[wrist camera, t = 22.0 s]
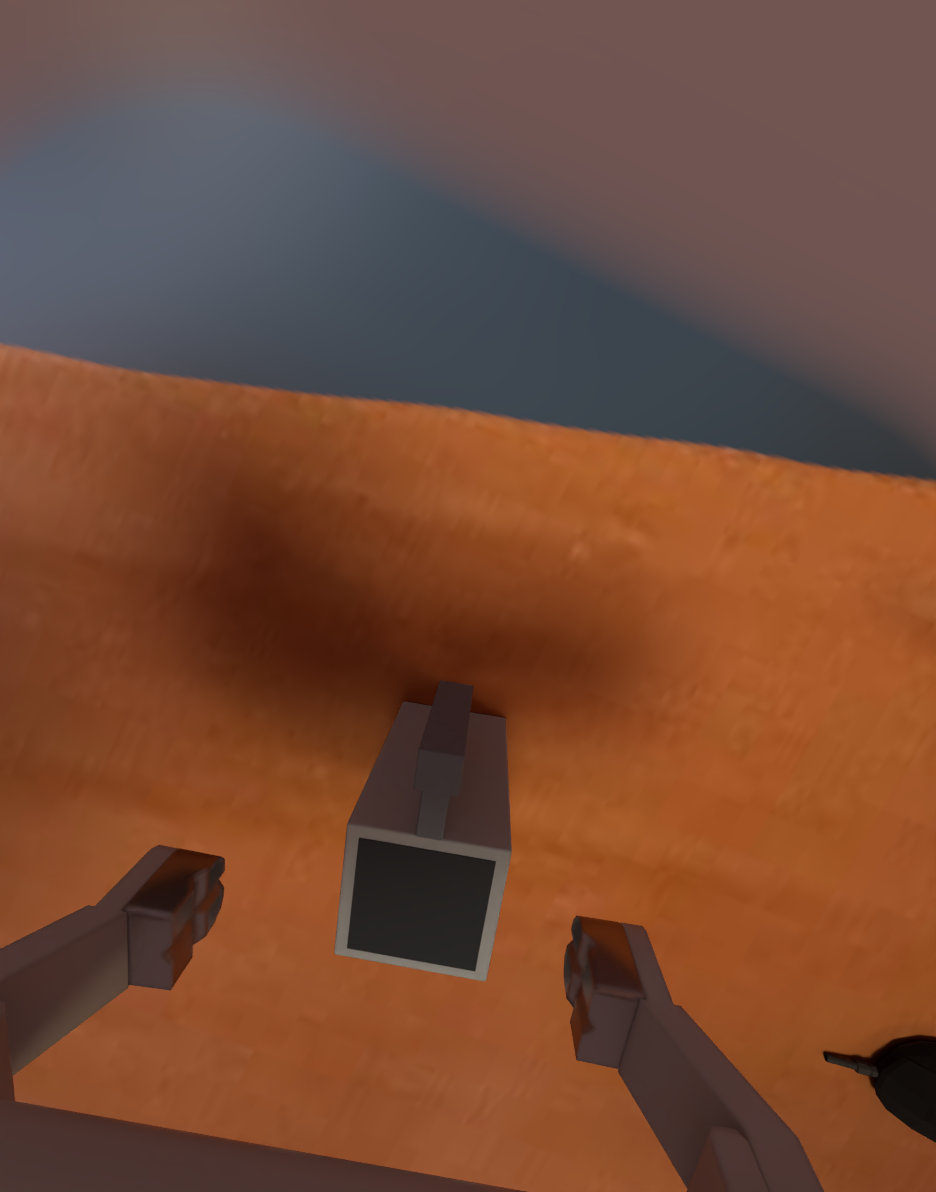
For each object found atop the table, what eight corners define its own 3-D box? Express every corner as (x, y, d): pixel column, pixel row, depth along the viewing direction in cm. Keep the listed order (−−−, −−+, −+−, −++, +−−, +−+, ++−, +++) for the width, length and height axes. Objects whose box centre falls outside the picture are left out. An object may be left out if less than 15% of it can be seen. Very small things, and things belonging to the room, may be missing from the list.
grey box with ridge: (392, 790, 27) (410, 645, 25) (491, 807, 27) (517, 662, 25) (333, 956, 17) (354, 739, 15) (488, 984, 17) (531, 768, 15)
